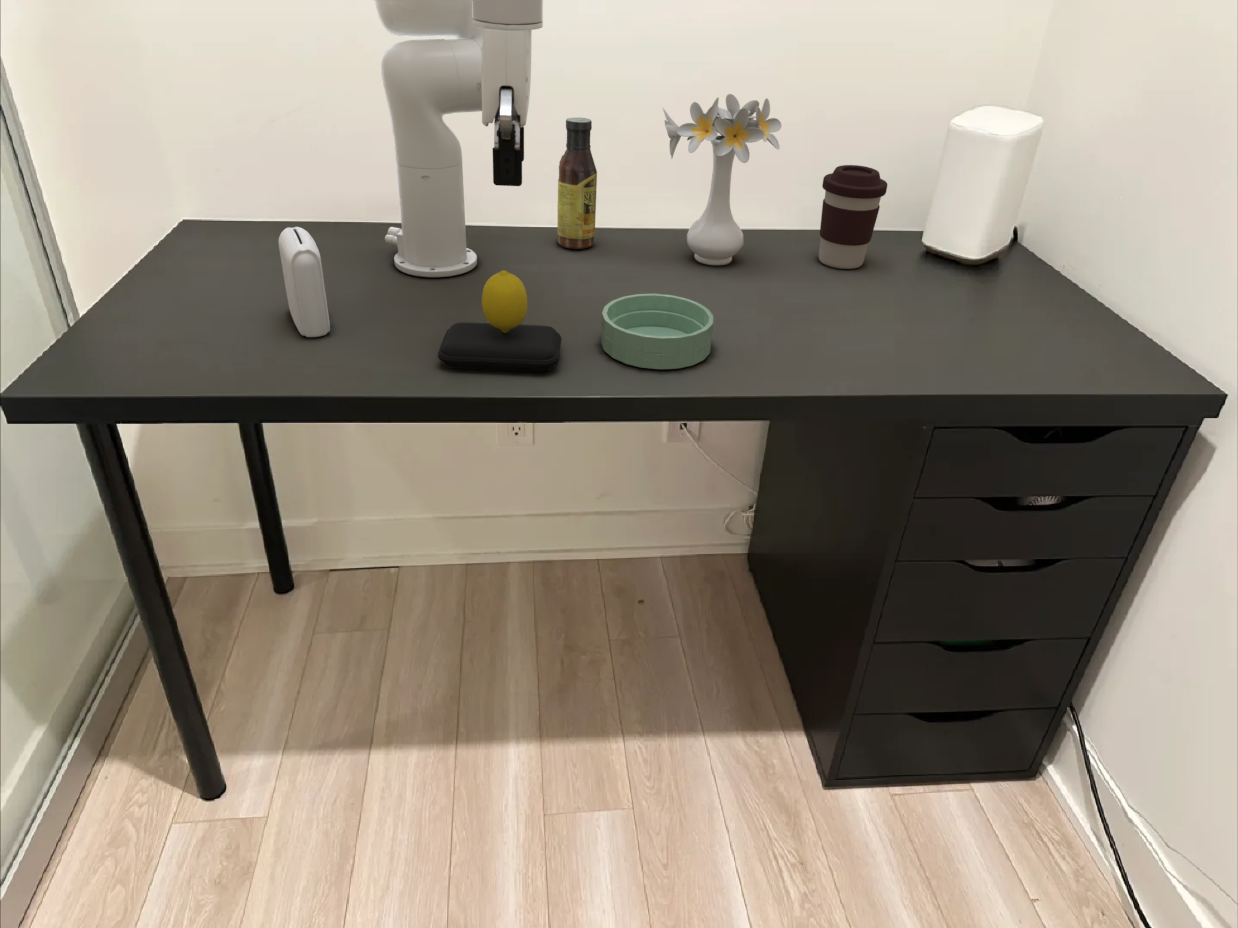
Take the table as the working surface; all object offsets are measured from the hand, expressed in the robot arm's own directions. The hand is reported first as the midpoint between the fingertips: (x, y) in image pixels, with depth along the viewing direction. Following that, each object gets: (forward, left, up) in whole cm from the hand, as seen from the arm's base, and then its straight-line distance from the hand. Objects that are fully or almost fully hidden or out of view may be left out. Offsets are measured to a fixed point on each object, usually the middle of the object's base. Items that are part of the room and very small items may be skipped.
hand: (509, 172), depth 104 cm
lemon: (+1, -4, -19) cm, 19 cm away
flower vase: (+11, +43, -22) cm, 49 cm away
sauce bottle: (-11, +38, -22) cm, 45 cm away
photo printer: (-26, -9, -22) cm, 35 cm away
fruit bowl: (+17, +8, -22) cm, 28 cm away
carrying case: (+1, -4, -22) cm, 22 cm away
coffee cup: (+30, +54, -22) cm, 66 cm away
